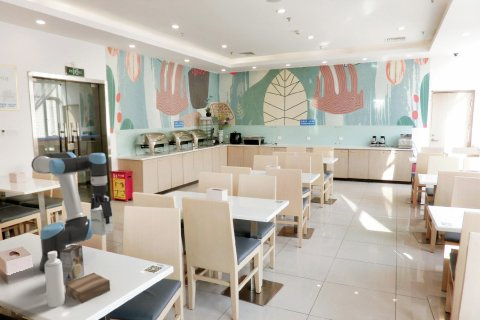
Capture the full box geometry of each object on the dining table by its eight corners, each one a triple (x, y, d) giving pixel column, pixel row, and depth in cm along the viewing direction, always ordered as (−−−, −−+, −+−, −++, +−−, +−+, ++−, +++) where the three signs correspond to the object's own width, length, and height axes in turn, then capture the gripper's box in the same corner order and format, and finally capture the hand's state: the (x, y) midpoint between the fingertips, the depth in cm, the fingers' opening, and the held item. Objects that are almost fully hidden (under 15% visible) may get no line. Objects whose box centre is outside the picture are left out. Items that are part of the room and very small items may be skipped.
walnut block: (65, 293, 159) (65, 283, 158) (94, 282, 170) (93, 272, 169) (81, 303, 150) (80, 292, 150) (110, 290, 161) (109, 280, 161)
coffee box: (73, 273, 180) (71, 244, 178) (84, 274, 179) (82, 244, 177) (61, 281, 171) (59, 250, 169) (73, 282, 170) (70, 251, 168)
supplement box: (91, 234, 172) (89, 209, 170) (103, 229, 179) (101, 206, 177) (101, 236, 169) (100, 211, 167) (113, 231, 175) (111, 207, 174)
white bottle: (44, 306, 149) (39, 250, 146) (56, 298, 155) (52, 245, 152) (56, 308, 146) (51, 252, 143) (68, 300, 153) (64, 246, 150)
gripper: (80, 183, 174) (84, 226, 176) (104, 187, 162) (107, 234, 164) (94, 181, 180) (97, 223, 182) (118, 185, 168) (120, 230, 170)
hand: (102, 228), depth 173 cm, fingers closed on supplement box, 8 cm apart
